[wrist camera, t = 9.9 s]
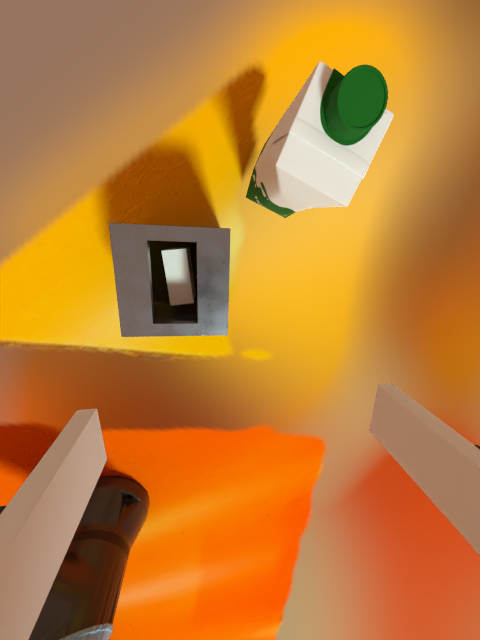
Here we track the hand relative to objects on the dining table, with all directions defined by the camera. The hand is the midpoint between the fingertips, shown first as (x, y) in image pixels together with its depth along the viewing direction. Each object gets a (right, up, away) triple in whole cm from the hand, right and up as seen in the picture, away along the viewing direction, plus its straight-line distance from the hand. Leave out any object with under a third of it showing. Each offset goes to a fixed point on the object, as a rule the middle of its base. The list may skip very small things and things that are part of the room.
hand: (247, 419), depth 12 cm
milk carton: (+5, +25, +26) cm, 36 cm away
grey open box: (-9, +13, +28) cm, 32 cm away
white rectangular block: (-9, +13, +28) cm, 32 cm away
